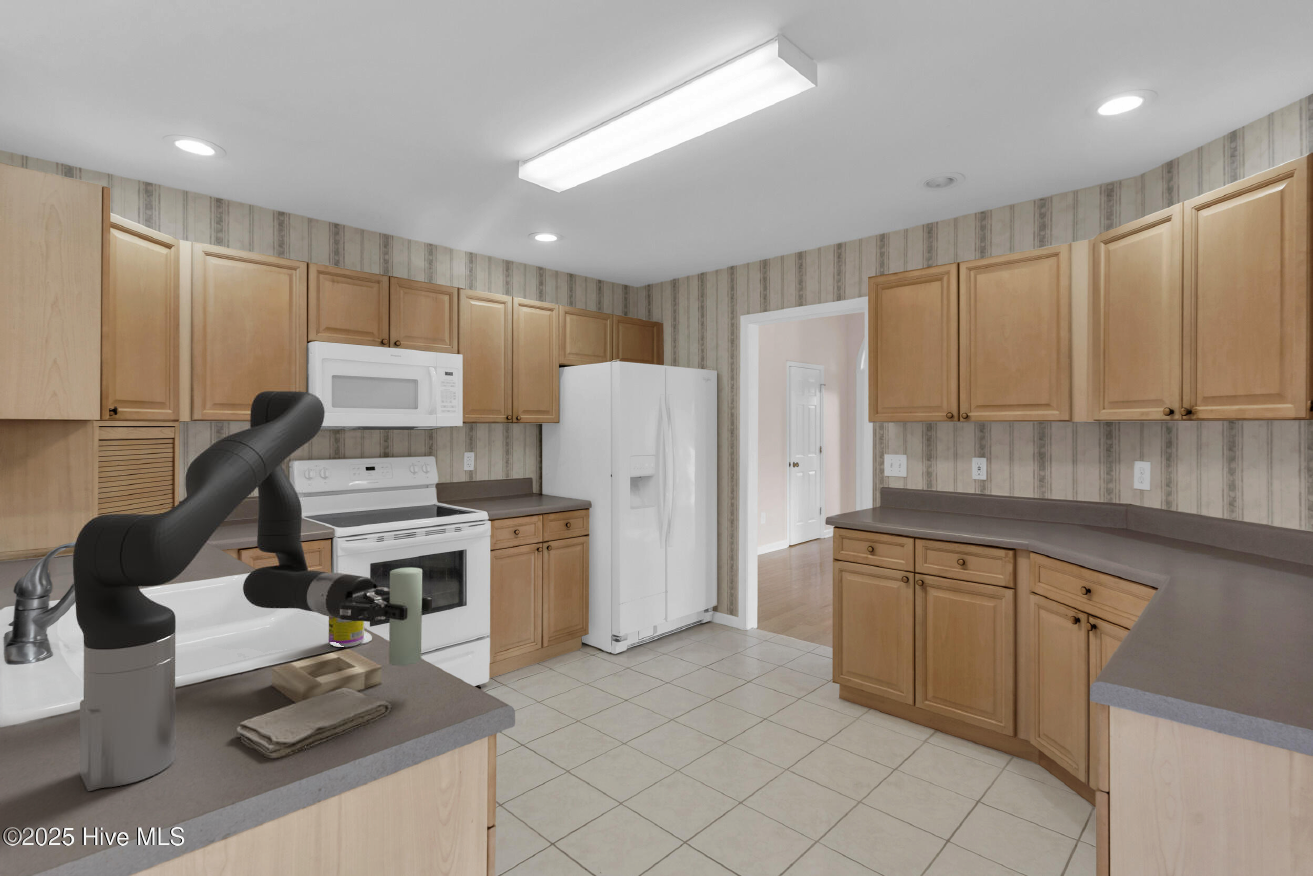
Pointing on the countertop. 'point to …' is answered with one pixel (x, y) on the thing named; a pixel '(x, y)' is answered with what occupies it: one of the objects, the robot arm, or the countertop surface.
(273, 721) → the washcloth
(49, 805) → the countertop surface
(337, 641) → the supplement bottle
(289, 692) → the pocket block
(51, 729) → the countertop surface
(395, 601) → the green cylinder
